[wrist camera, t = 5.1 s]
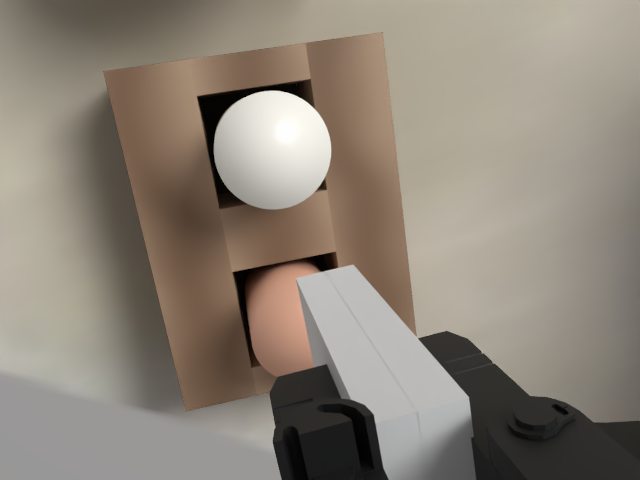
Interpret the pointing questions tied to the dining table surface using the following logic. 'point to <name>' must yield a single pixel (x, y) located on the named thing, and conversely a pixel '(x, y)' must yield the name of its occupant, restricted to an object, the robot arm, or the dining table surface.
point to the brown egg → (279, 316)
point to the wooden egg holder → (246, 220)
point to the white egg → (272, 149)
